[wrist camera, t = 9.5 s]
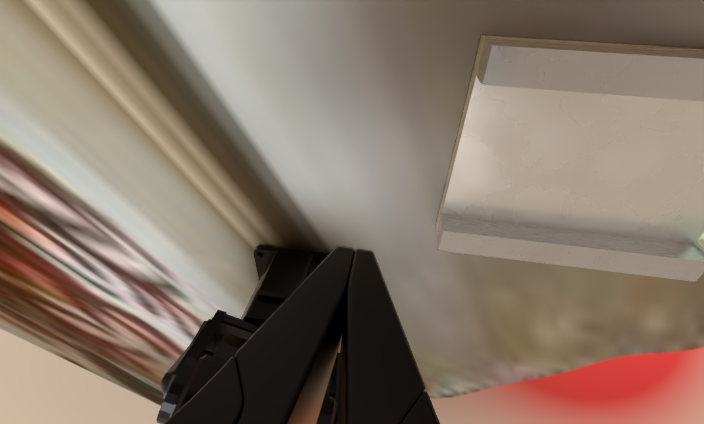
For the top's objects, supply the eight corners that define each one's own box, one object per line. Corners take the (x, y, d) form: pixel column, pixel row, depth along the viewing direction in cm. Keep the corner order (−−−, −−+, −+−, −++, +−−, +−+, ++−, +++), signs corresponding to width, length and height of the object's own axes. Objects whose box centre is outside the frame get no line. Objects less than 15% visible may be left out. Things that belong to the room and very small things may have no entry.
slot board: (666, 250, 20) (695, 281, 18) (435, 224, 21) (438, 250, 19) (829, 56, 14) (900, 71, 12) (481, 35, 15) (492, 45, 13)
